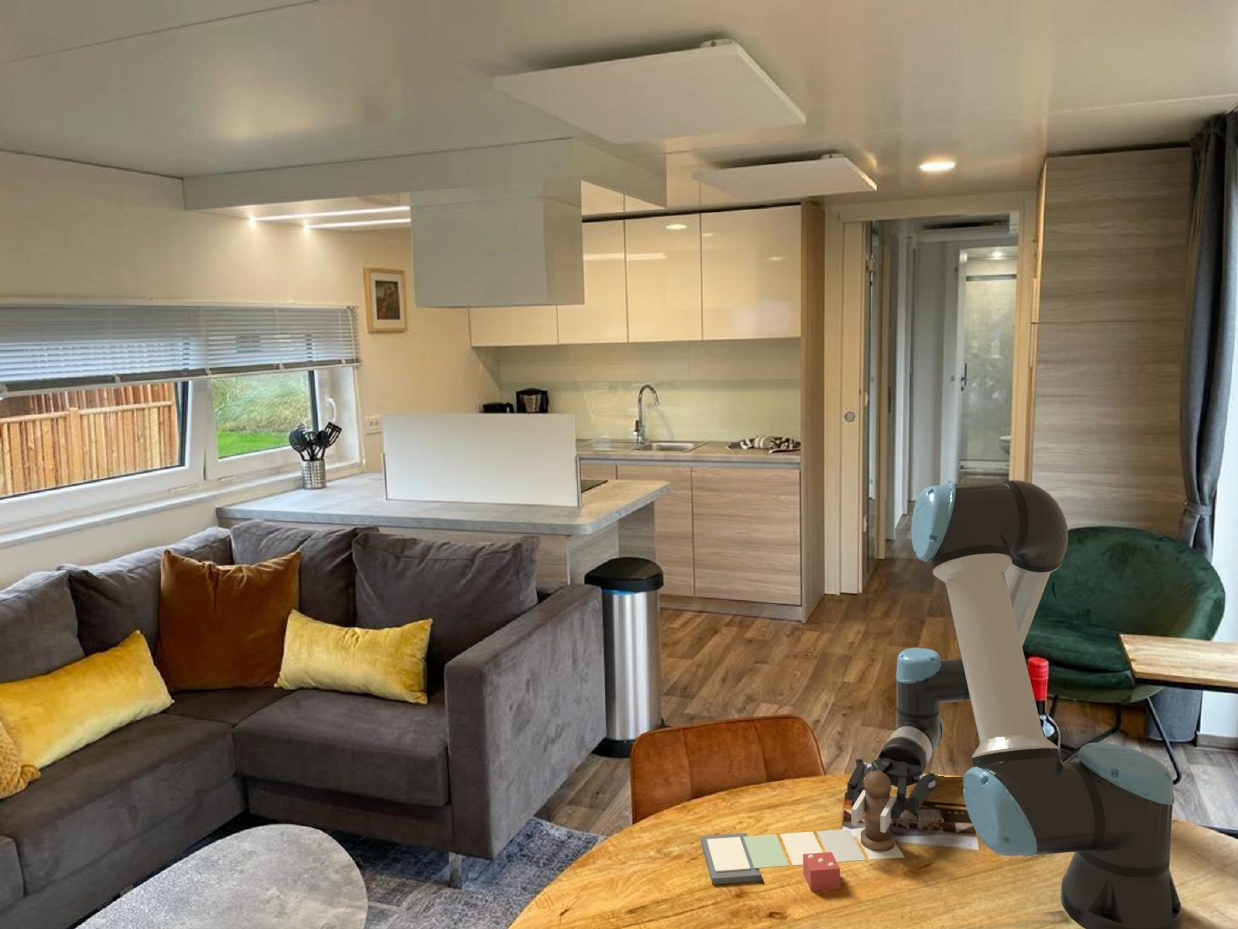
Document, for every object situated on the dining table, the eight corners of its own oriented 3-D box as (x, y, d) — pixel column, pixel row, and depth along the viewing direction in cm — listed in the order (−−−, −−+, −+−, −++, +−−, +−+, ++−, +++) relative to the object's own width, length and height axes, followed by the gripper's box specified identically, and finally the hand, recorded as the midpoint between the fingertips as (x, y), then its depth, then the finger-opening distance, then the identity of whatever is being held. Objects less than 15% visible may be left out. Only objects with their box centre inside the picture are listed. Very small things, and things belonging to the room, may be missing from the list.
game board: (912, 869, 147) (912, 862, 147) (712, 884, 146) (711, 877, 146) (886, 828, 159) (886, 821, 159) (700, 841, 158) (700, 834, 158)
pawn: (899, 850, 151) (899, 779, 149) (866, 852, 150) (866, 781, 148) (888, 832, 156) (888, 763, 154) (856, 835, 155) (856, 766, 154)
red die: (840, 896, 142) (839, 866, 141) (810, 898, 141) (810, 868, 141) (831, 878, 146) (831, 850, 145) (803, 881, 146) (802, 852, 145)
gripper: (954, 787, 164) (924, 856, 144) (857, 767, 172) (815, 831, 152) (955, 745, 163) (924, 810, 143) (856, 728, 171) (814, 786, 151)
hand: (868, 820), depth 147 cm, fingers closed on pawn, 4 cm apart
